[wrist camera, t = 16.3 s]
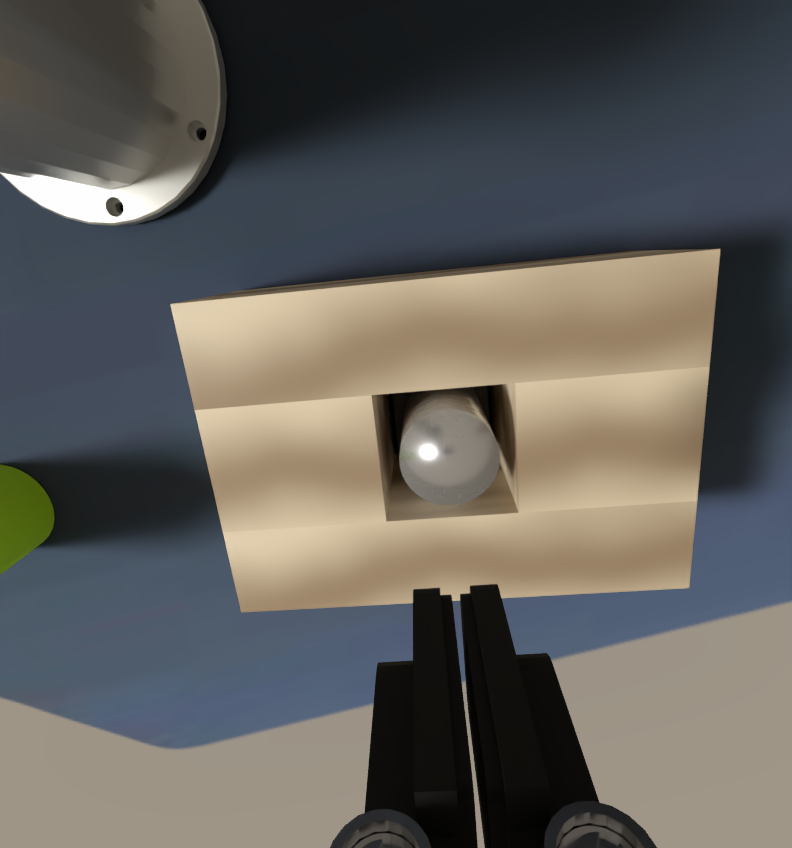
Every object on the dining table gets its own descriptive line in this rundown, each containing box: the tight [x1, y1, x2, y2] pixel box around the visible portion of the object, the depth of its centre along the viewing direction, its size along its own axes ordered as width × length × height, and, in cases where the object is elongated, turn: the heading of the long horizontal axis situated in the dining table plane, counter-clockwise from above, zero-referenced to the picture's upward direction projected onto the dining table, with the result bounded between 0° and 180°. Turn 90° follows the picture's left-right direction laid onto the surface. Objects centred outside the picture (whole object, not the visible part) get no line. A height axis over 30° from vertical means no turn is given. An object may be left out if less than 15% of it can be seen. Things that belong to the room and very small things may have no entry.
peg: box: [399, 387, 500, 505], centre depth 24 cm, size 4×4×7 cm
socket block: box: [170, 249, 720, 612], centre depth 24 cm, size 14×20×8 cm
